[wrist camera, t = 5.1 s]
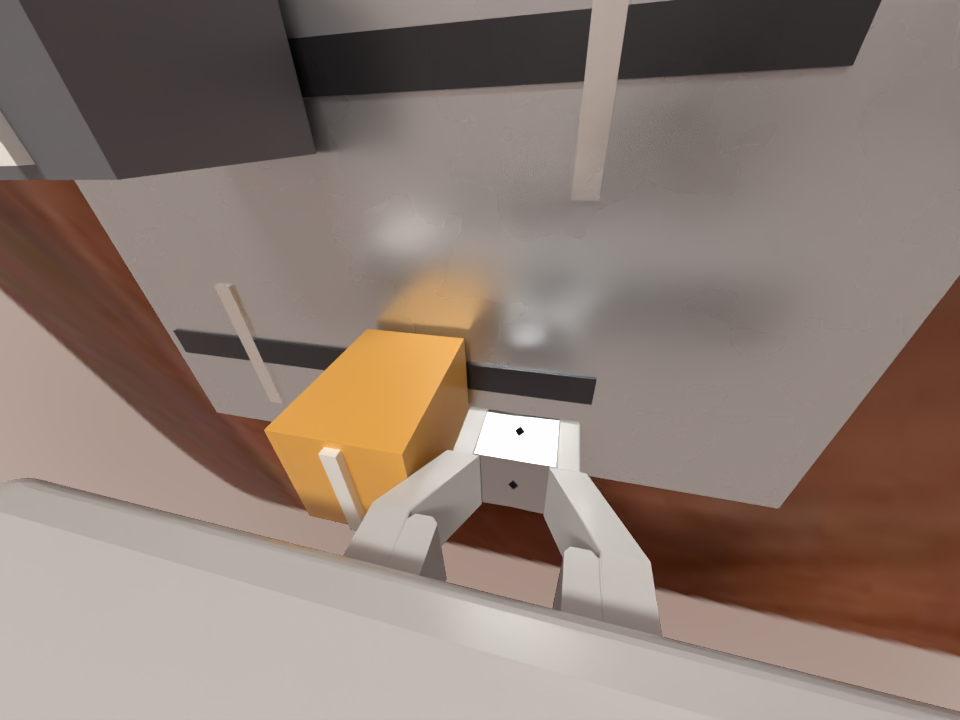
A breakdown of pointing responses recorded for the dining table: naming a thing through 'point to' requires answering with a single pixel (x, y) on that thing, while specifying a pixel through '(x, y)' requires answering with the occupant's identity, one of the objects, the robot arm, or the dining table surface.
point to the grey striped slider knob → (145, 88)
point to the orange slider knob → (372, 421)
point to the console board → (585, 219)
